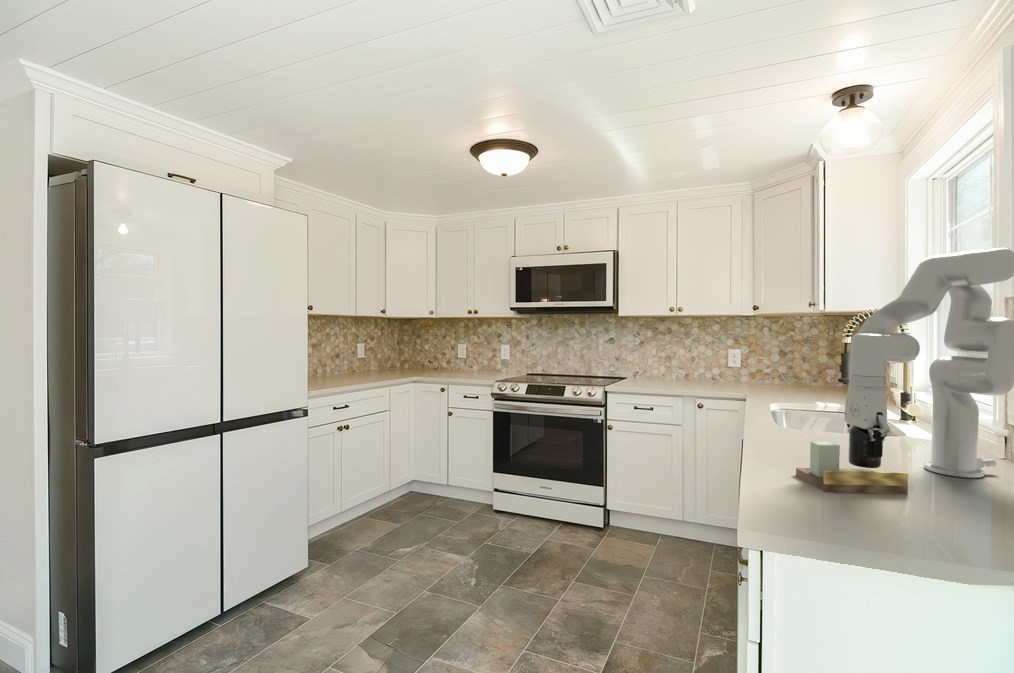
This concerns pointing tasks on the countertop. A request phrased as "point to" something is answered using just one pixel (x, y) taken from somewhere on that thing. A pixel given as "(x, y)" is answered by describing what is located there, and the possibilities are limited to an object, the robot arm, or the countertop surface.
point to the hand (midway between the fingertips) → (865, 452)
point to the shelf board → (857, 481)
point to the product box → (824, 457)
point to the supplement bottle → (861, 449)
